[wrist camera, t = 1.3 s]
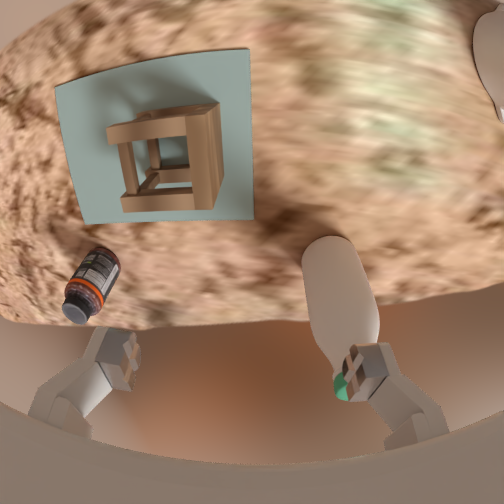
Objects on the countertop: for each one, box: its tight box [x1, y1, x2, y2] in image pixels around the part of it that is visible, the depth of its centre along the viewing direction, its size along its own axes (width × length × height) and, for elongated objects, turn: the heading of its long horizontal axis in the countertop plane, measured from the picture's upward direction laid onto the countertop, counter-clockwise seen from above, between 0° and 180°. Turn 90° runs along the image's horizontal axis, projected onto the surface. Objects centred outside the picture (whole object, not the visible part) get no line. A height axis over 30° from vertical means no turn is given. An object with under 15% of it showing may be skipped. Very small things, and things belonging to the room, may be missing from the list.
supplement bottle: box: [62, 248, 121, 325], centre depth 36 cm, size 6×6×11 cm
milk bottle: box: [301, 236, 380, 401], centre depth 31 cm, size 8×8×20 cm
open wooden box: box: [106, 103, 224, 213], centre depth 26 cm, size 9×8×8 cm
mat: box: [55, 49, 254, 224], centre depth 30 cm, size 24×20×1 cm
